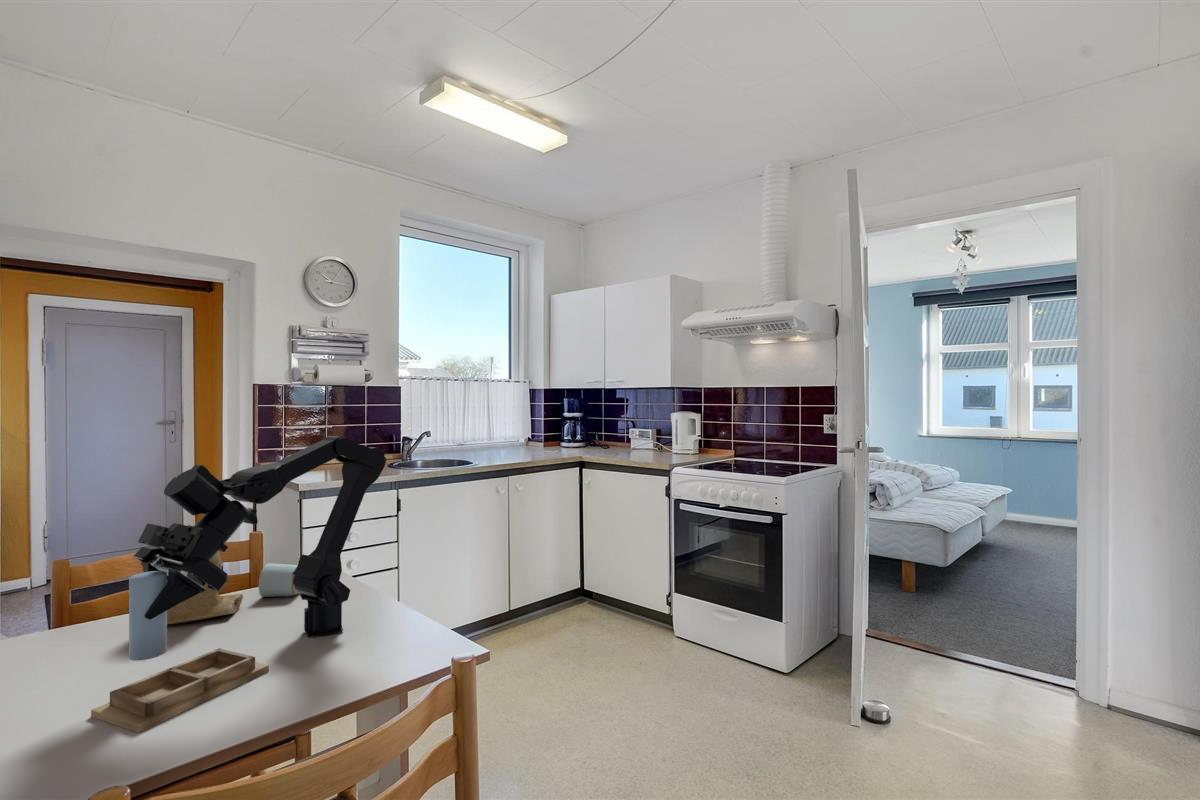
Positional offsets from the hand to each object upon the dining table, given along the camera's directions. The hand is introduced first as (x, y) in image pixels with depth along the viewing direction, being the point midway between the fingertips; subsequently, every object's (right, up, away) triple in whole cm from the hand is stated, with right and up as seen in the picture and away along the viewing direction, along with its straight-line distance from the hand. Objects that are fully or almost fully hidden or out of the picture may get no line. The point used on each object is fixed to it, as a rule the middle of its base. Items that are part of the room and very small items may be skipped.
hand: (138, 615), depth 94 cm
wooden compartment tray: (+5, -13, +3) cm, 15 cm away
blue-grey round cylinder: (+1, -7, +1) cm, 7 cm away
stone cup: (-13, -13, +35) cm, 40 cm away
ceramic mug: (-5, -14, +52) cm, 53 cm away
